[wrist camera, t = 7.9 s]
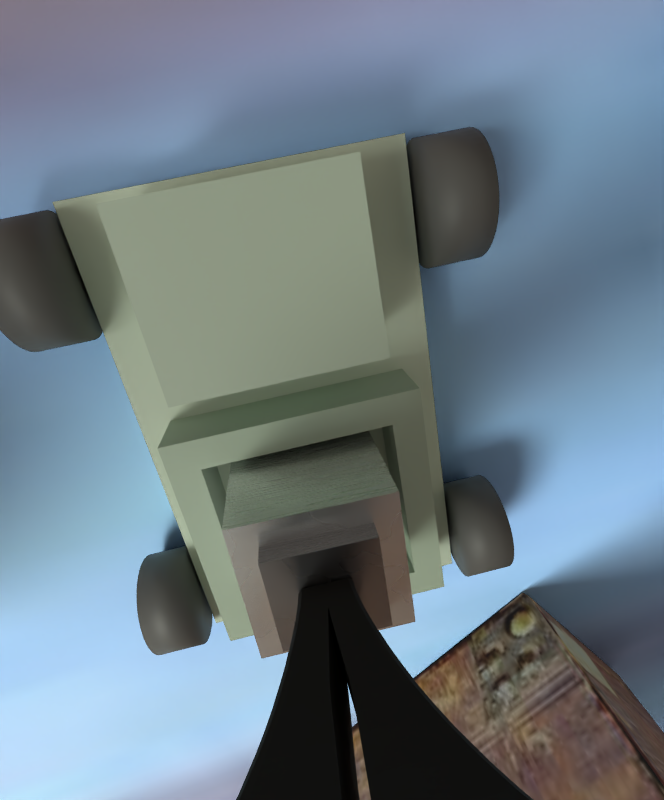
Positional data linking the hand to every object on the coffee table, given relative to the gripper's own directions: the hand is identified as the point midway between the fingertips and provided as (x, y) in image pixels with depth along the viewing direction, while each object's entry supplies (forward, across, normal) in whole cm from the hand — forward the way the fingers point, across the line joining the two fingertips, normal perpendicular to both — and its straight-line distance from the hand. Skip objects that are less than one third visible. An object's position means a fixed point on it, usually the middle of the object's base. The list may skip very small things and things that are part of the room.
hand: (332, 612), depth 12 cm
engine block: (+6, 0, 0) cm, 6 cm away
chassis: (+7, 0, -3) cm, 8 cm away
